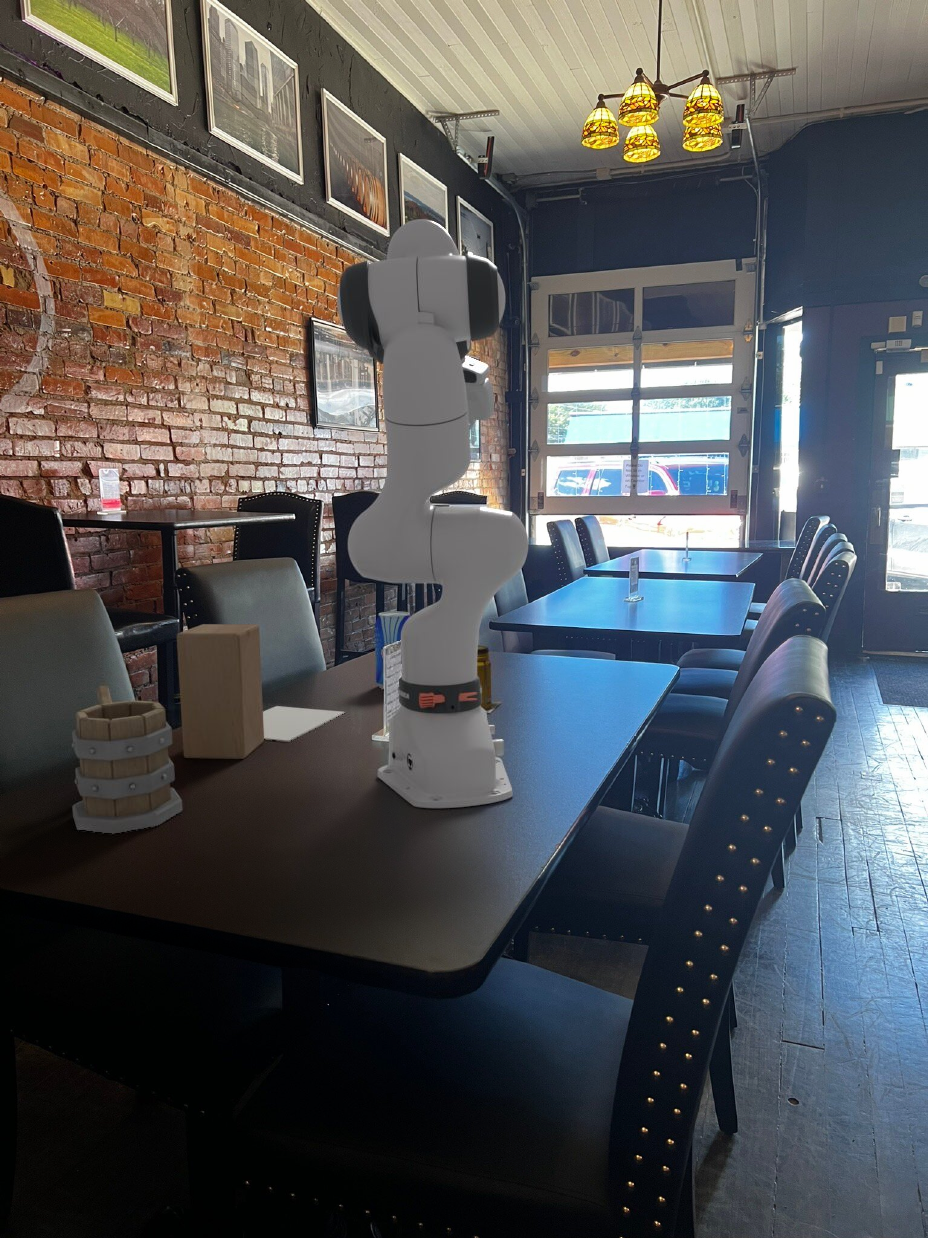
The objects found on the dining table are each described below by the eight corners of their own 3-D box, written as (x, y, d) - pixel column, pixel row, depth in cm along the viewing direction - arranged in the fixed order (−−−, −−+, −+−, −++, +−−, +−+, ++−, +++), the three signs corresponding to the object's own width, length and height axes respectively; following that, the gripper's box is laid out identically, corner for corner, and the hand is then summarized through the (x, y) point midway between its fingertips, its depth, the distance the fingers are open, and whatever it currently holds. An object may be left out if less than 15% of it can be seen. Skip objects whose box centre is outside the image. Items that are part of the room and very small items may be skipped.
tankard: (188, 821, 108) (181, 705, 106) (80, 842, 102) (70, 720, 100) (159, 777, 125) (152, 677, 123) (65, 792, 119) (56, 687, 117)
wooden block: (265, 741, 143) (259, 623, 140) (244, 760, 133) (238, 633, 130) (207, 740, 144) (201, 623, 141) (182, 758, 134) (175, 633, 131)
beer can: (410, 692, 178) (409, 616, 176) (371, 691, 179) (369, 616, 177) (419, 683, 186) (417, 611, 184) (381, 682, 188) (379, 610, 185)
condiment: (453, 711, 162) (452, 649, 160) (466, 701, 170) (465, 642, 168) (489, 714, 160) (489, 651, 158) (501, 703, 168) (501, 643, 166)
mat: (288, 742, 142) (288, 740, 142) (213, 734, 148) (213, 733, 148) (345, 713, 161) (344, 711, 161) (276, 707, 166) (276, 706, 166)
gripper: (385, 367, 162) (387, 436, 170) (490, 376, 158) (488, 447, 166) (395, 358, 167) (397, 426, 175) (497, 366, 163) (495, 436, 171)
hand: (442, 436), depth 170 cm, fingers open, 8 cm apart
